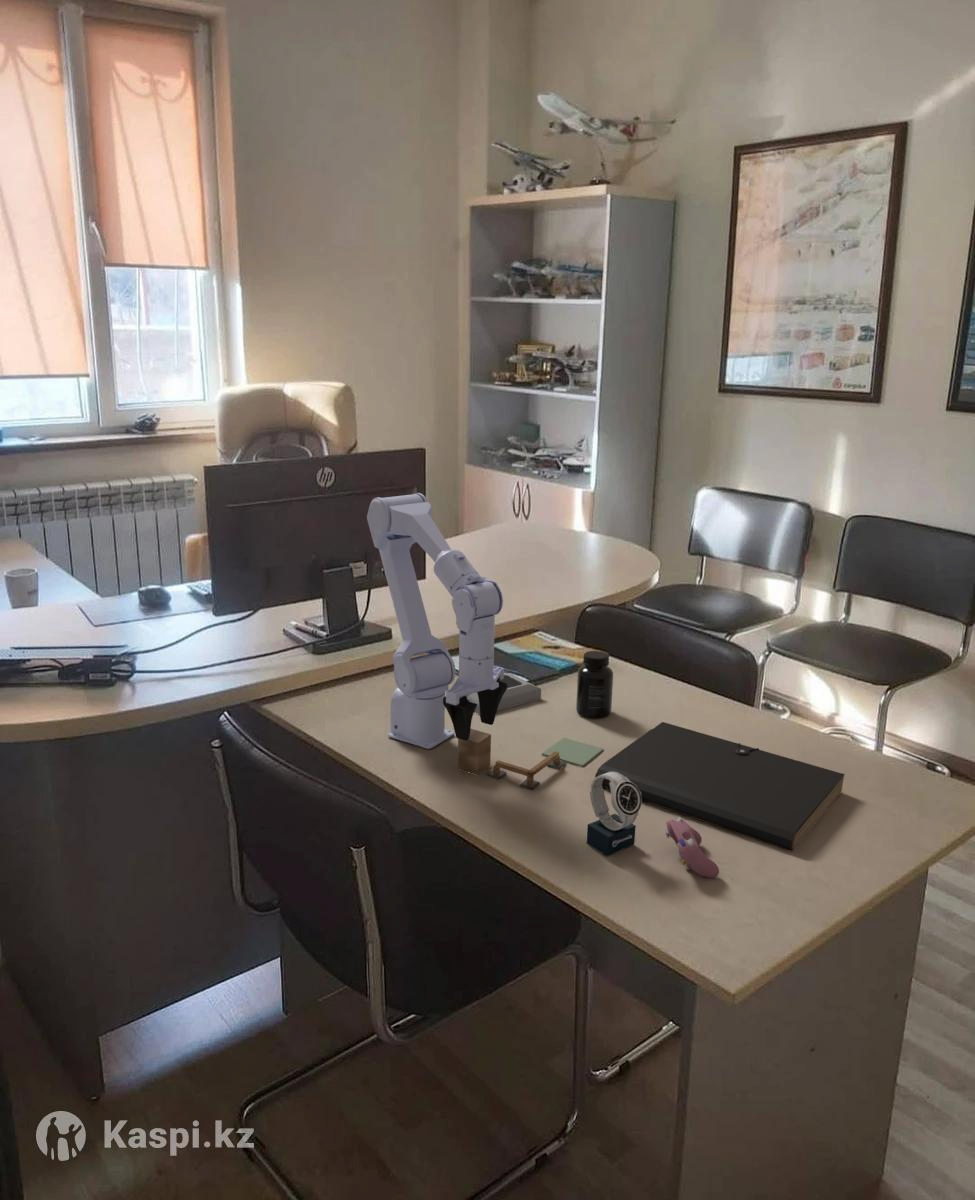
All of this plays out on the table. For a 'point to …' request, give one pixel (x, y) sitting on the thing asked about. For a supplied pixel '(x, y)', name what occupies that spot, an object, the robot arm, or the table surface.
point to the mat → (574, 751)
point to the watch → (613, 829)
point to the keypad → (512, 693)
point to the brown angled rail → (529, 783)
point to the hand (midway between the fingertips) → (475, 730)
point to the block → (474, 752)
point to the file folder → (727, 783)
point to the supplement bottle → (594, 686)
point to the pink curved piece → (690, 848)
